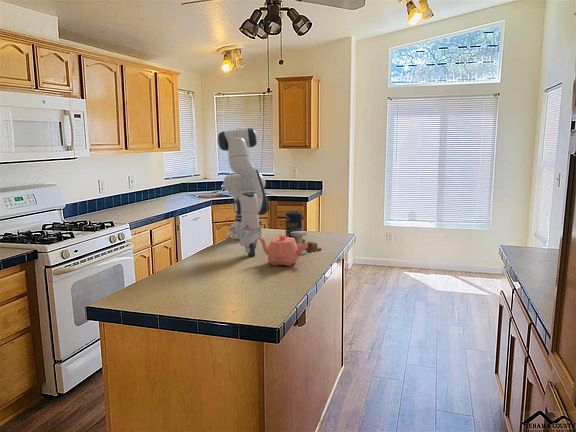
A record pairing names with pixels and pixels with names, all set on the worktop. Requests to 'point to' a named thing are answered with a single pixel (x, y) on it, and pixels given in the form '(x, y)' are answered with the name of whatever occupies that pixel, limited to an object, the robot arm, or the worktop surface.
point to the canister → (293, 222)
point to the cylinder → (252, 250)
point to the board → (311, 246)
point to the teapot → (282, 250)
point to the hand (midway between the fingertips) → (251, 250)
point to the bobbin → (299, 239)
